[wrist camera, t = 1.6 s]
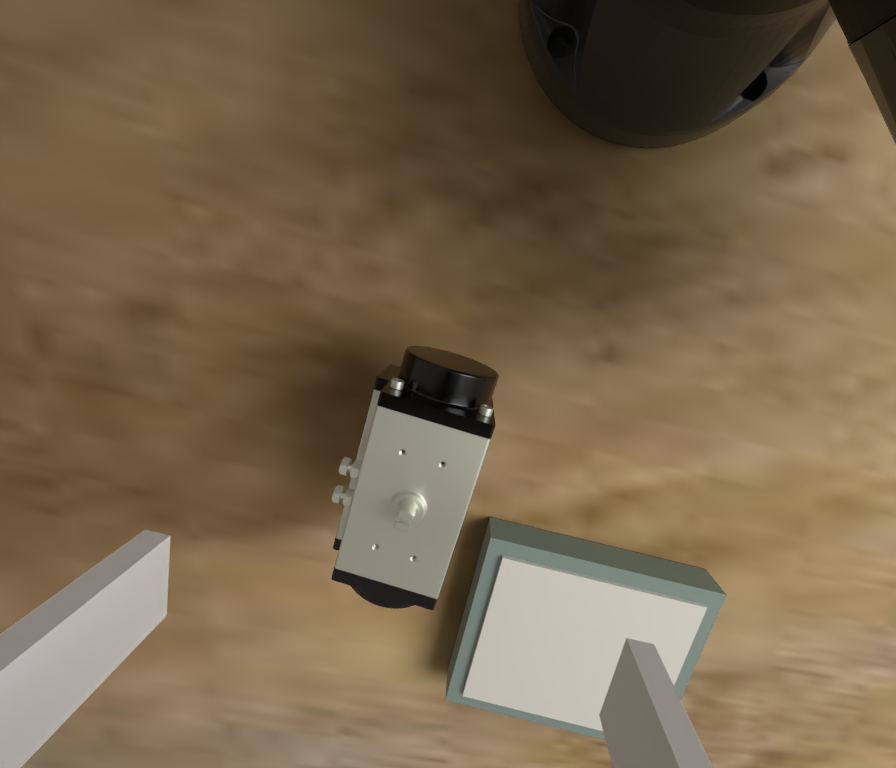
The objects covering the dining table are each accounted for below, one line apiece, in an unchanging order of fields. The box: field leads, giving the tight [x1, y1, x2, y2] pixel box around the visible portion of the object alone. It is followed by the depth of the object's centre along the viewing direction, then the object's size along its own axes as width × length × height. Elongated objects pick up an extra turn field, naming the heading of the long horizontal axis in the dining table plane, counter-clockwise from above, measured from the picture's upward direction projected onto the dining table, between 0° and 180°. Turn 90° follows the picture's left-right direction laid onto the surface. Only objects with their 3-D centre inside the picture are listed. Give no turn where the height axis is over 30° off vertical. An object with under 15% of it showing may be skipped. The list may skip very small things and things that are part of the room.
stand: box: [445, 517, 726, 740], centre depth 29 cm, size 13×15×3 cm
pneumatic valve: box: [332, 346, 498, 610], centre depth 22 cm, size 6×12×12 cm, turn 164°
